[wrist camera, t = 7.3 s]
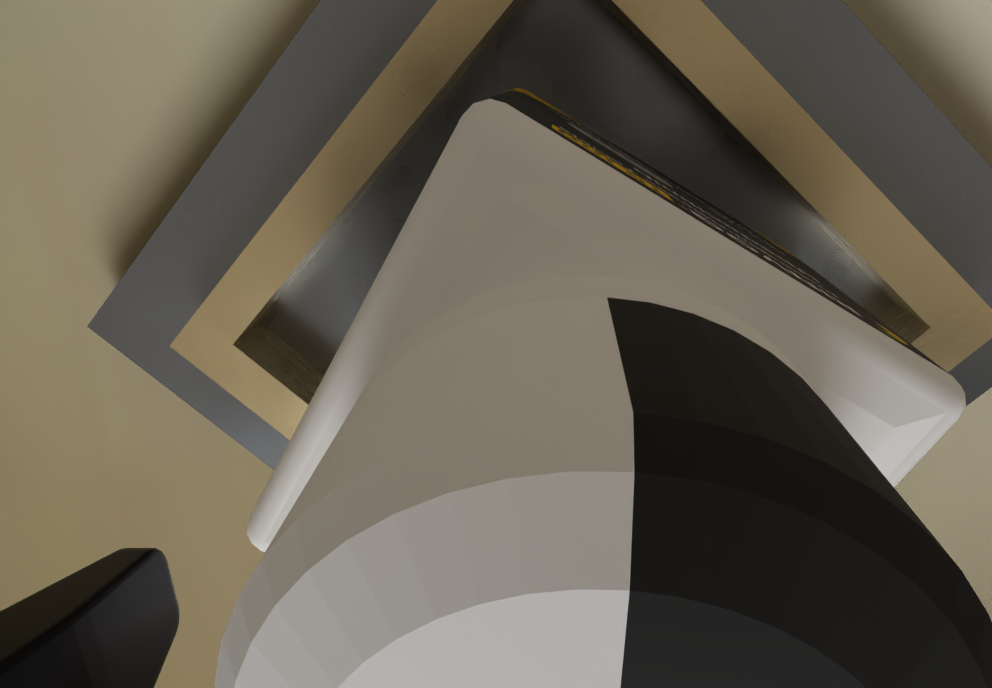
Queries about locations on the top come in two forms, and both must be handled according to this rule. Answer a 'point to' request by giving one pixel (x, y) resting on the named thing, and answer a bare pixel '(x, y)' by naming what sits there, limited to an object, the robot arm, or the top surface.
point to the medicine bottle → (602, 454)
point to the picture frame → (595, 104)
